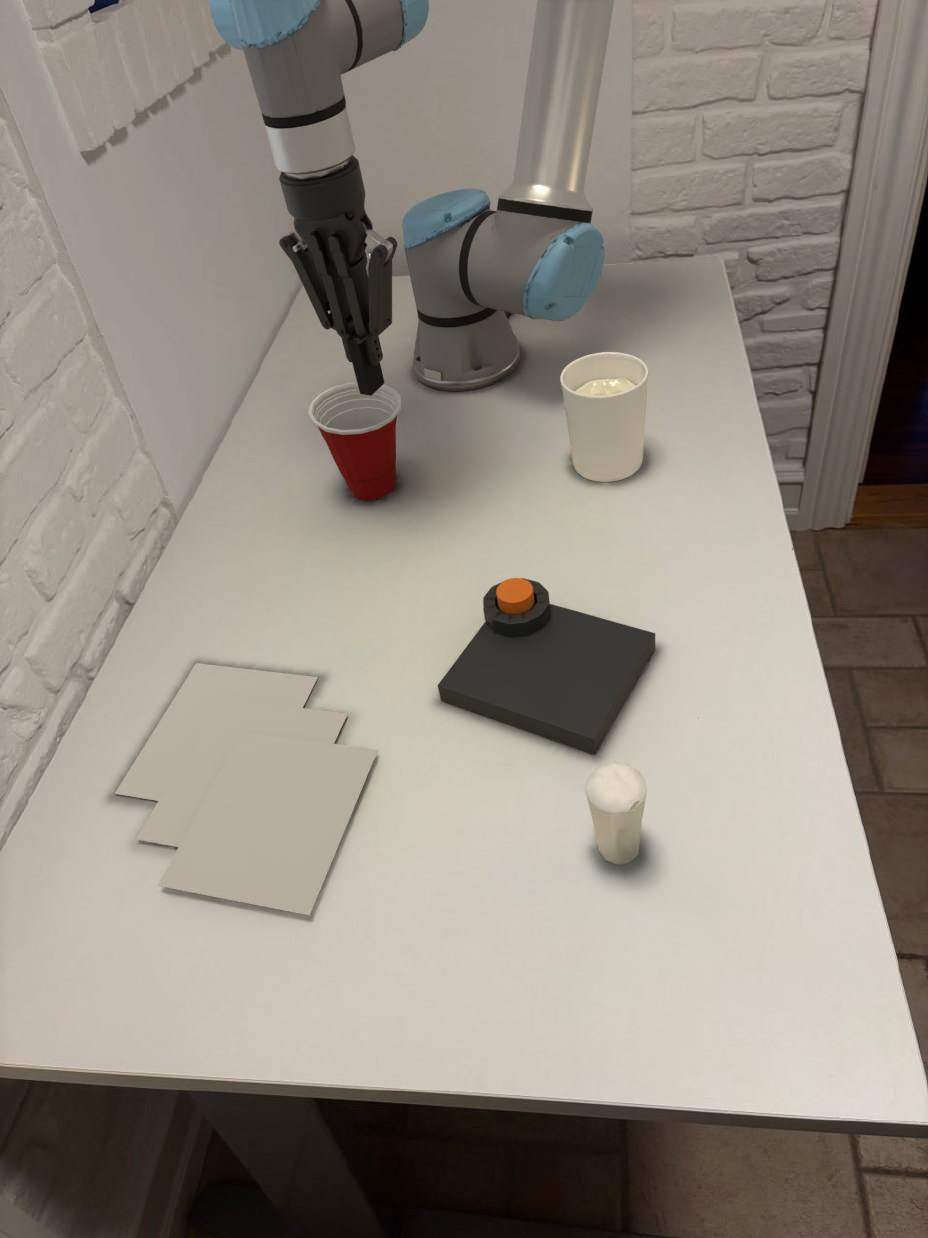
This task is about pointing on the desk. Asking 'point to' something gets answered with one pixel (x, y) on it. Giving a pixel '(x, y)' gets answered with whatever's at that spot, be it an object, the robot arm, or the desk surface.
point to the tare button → (515, 596)
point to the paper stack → (248, 787)
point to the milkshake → (617, 810)
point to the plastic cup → (360, 436)
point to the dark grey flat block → (549, 670)
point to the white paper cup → (606, 414)
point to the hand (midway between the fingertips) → (372, 388)
